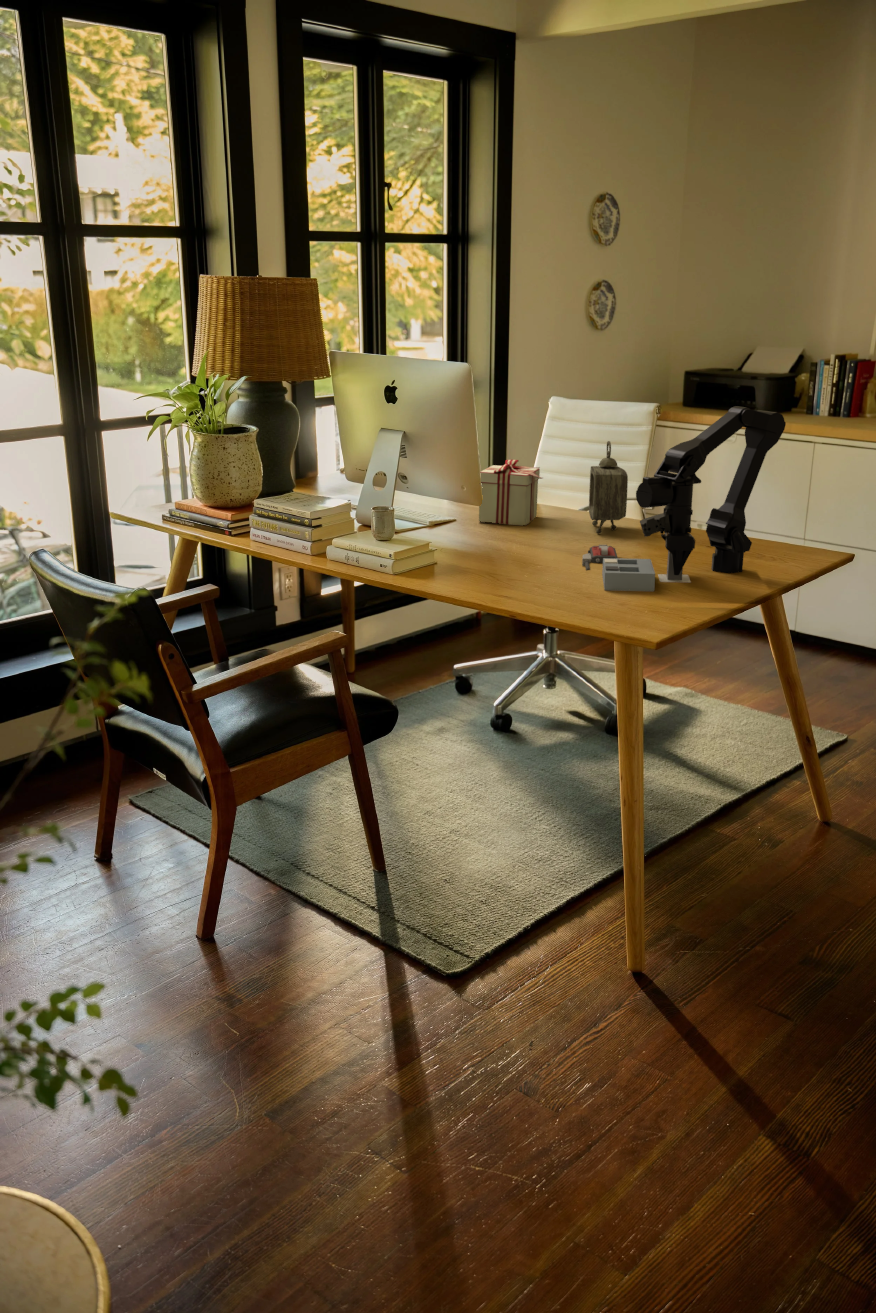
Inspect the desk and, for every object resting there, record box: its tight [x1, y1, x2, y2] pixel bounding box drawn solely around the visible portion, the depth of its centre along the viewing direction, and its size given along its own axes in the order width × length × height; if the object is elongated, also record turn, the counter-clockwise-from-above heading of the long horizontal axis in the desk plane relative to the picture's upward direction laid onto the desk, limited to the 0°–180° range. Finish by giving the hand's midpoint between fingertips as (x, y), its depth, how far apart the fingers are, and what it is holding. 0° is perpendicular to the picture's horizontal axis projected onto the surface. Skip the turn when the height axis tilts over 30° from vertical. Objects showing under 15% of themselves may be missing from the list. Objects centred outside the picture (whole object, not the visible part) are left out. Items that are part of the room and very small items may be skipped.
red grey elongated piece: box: [581, 544, 619, 571], centre depth 269 cm, size 9×4×20 cm
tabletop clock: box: [588, 440, 629, 535], centre depth 303 cm, size 14×9×25 cm, turn 178°
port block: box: [601, 557, 656, 592], centre depth 248 cm, size 11×14×5 cm
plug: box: [666, 550, 684, 580], centre depth 251 cm, size 3×3×8 cm
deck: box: [657, 573, 692, 584], centre depth 252 cm, size 7×7×1 cm
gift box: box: [478, 459, 543, 526], centre depth 320 cm, size 17×18×17 cm
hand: (674, 570), depth 251 cm, fingers open, 8 cm apart
